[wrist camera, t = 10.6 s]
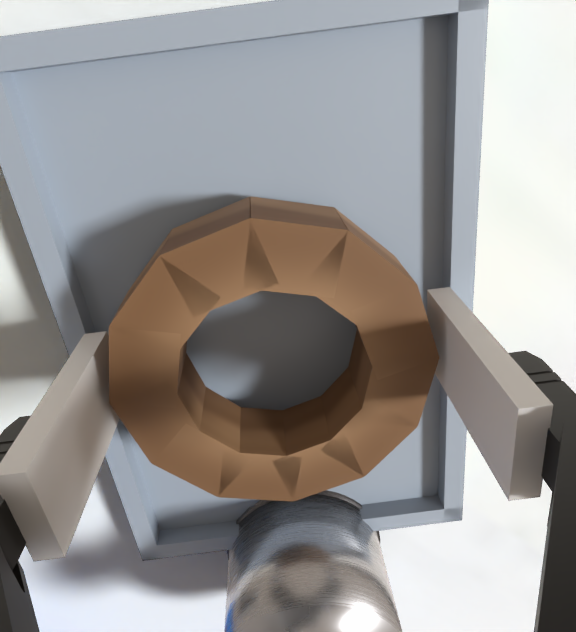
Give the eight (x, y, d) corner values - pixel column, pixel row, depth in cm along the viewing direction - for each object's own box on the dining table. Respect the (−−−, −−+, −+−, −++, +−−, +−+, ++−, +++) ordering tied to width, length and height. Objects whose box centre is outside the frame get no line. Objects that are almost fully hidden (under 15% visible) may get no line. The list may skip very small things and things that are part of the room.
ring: (73, 367, 18) (48, 411, 15) (240, 132, 15) (238, 143, 12) (293, 487, 21) (299, 538, 18) (467, 314, 18) (499, 349, 15)
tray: (149, 530, 23) (142, 560, 22) (-15, 44, 15) (-44, 42, 13) (449, 492, 23) (461, 520, 22) (467, -19, 15) (490, -29, 13)
